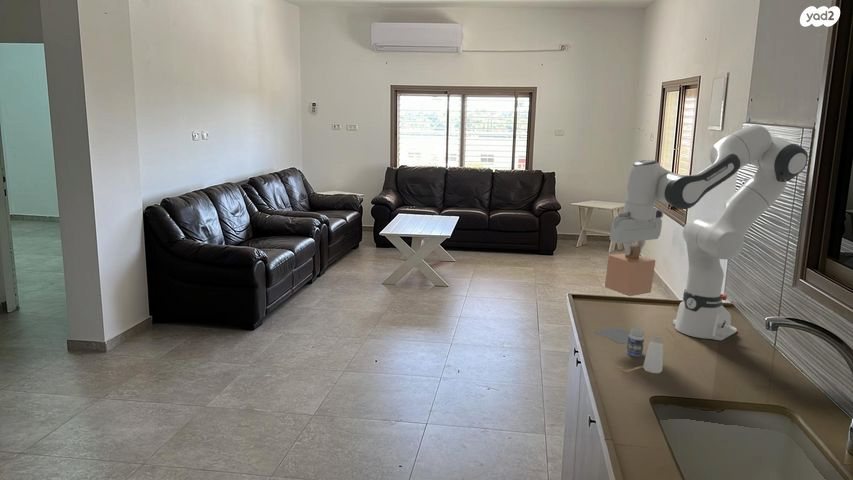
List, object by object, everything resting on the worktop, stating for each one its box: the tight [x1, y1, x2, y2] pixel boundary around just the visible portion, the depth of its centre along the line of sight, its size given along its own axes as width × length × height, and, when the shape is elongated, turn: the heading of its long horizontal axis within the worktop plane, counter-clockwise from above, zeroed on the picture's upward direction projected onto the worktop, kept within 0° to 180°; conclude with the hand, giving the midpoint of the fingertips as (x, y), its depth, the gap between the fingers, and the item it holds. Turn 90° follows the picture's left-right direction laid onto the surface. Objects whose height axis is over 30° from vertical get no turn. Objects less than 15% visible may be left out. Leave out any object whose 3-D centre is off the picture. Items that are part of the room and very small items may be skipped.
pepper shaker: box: [642, 333, 664, 374], centre depth 186 cm, size 5×5×11 cm
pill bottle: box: [625, 326, 645, 357], centre depth 196 cm, size 5×5×8 cm
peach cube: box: [604, 243, 656, 297], centre depth 203 cm, size 10×10×15 cm
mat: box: [594, 326, 631, 345], centre depth 212 cm, size 12×12×1 cm
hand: (632, 254), depth 202 cm, fingers closed on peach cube, 3 cm apart
